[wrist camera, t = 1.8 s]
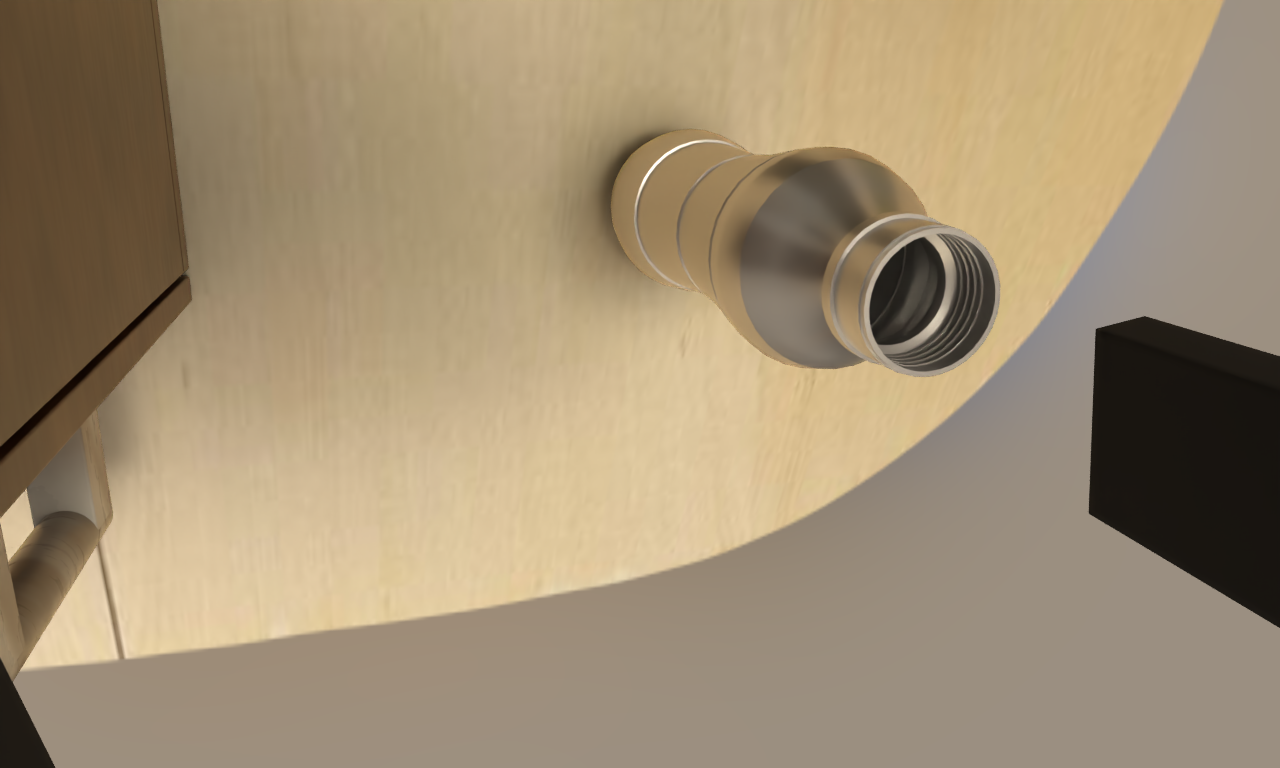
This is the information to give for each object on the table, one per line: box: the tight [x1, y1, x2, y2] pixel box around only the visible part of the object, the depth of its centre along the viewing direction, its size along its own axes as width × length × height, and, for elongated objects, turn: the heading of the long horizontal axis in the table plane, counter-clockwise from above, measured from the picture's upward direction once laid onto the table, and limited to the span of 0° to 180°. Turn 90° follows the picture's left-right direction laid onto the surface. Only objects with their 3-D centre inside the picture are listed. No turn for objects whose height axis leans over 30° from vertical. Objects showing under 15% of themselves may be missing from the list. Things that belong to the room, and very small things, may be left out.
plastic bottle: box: [611, 129, 1000, 377], centre depth 30 cm, size 6×7×20 cm
